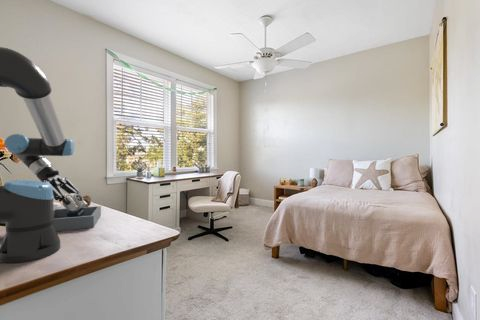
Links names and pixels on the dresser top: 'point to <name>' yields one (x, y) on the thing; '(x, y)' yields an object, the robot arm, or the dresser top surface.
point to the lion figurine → (86, 200)
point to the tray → (76, 219)
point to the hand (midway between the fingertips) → (80, 207)
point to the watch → (79, 210)
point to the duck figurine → (56, 205)
